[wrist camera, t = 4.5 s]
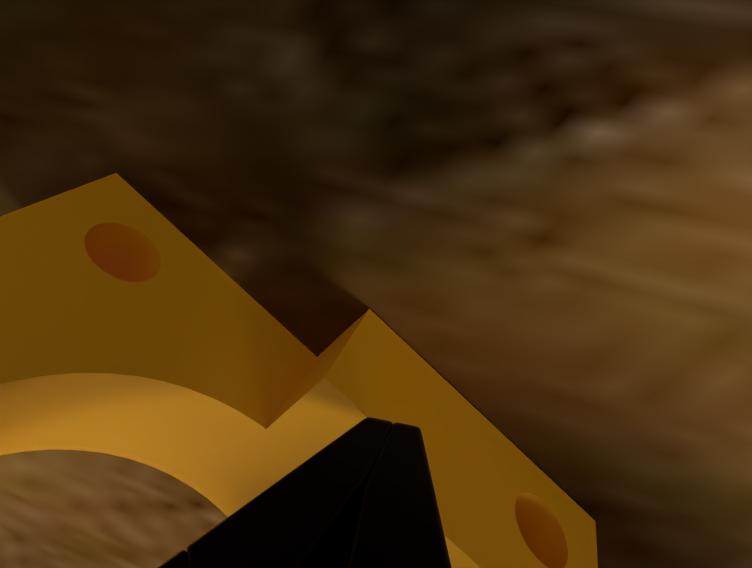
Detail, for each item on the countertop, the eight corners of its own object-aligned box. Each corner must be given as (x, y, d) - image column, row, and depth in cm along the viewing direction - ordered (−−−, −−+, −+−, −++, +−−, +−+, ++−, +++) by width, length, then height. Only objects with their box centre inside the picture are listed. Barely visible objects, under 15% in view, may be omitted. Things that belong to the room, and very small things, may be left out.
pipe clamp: (595, 521, 12) (619, 975, 6) (449, 590, 14) (373, 973, 9) (155, 107, 11) (-284, 219, 5) (71, 251, 13) (-302, 438, 7)
